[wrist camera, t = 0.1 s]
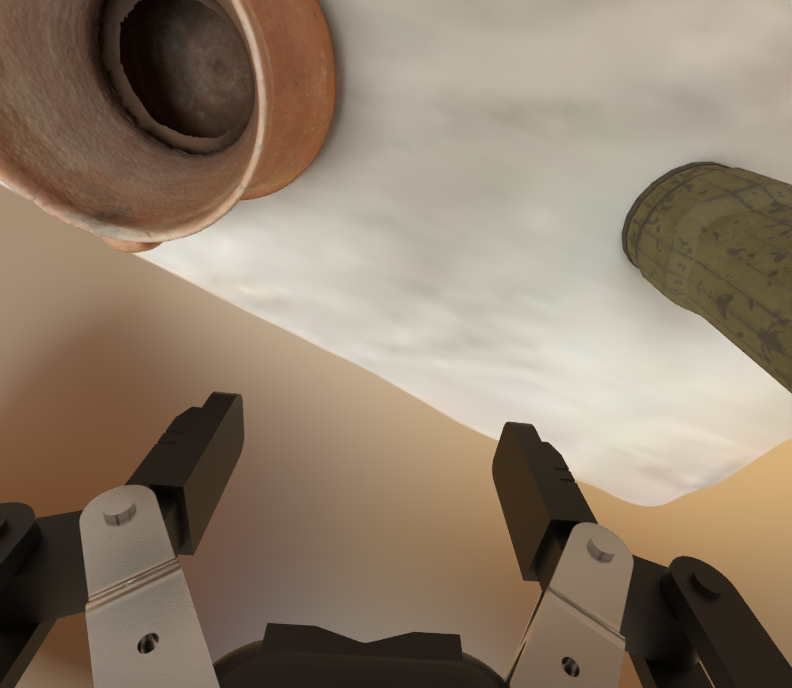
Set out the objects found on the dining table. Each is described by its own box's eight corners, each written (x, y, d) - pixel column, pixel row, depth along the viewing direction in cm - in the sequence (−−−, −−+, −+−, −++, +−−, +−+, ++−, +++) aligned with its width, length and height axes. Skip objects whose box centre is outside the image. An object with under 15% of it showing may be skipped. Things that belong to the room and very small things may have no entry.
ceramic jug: (133, -212, 19) (-268, -615, 8) (394, -5, 24) (389, -64, 12) (83, 144, 28) (-136, 206, 17) (278, 247, 33) (212, 352, 21)
